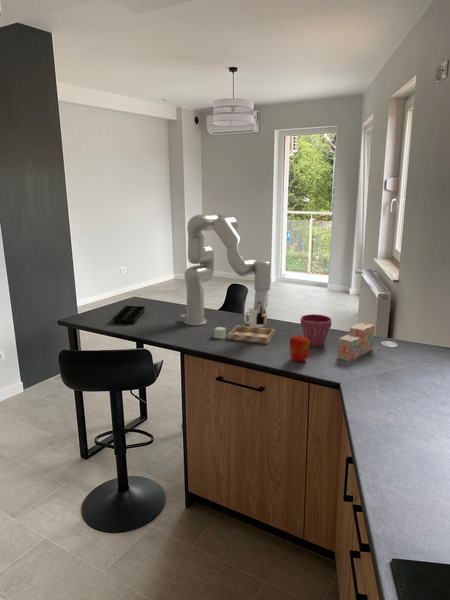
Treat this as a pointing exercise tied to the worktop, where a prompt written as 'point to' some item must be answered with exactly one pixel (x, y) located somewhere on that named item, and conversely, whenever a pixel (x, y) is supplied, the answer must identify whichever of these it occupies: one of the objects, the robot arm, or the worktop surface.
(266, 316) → the terracotta block
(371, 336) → the stack of blocks
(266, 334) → the oak tray
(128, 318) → the egg carton
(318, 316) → the plant pot
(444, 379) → the worktop surface
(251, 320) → the cup
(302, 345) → the apple
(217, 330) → the sage block
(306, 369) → the worktop surface
